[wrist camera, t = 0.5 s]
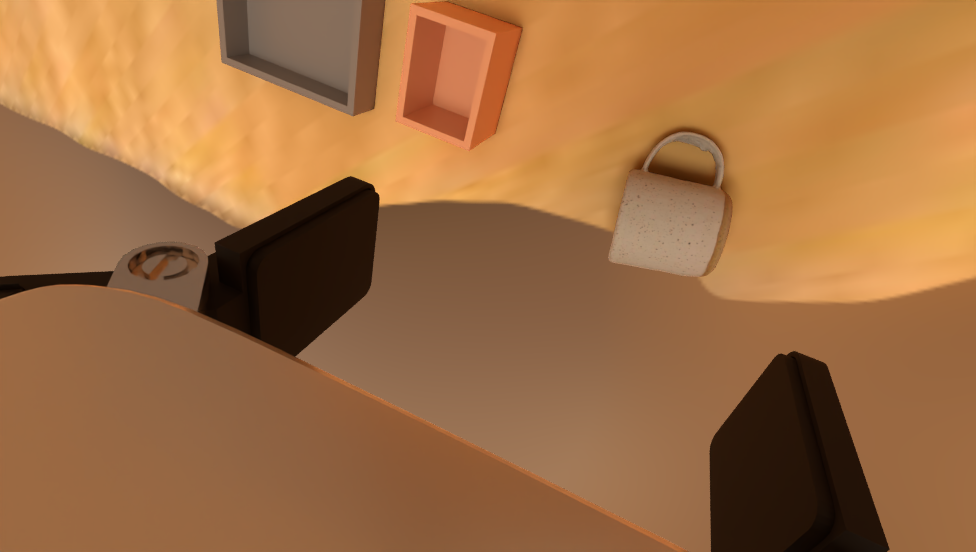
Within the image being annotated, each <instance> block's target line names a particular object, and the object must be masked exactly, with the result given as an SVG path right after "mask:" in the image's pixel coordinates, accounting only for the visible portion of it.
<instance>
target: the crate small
mask: <svg viewBox="0 0 976 552" xmlns="http://www.w3.org/2000/svg"><path fill="white" fill-rule="evenodd" d="M522 29H523V28H522V27H519V26H516V25H513V24H510V23H507V22H504V21H502V20H499V19H496V18H493V17H490V16H487V15H484V14H481V13H479V12H476V11H473V10H470V9H467V8H464V7H461V6H458V5H455V4H453V3H450V2H447V1H446V2H429V3H412V4H411V6H410V14H409V22H408V29H407V37H406V45H405V52H404V60H403V68H402V75H401V83H400V91H399V98H398V106H397V114H396V122H399V123H401V124H404V125H406V126H409V127H411V128H413V129H416V130H418V131H421V132H423V133H426V134H428V135H431V136H433V137H436V138H438V139H441V140H443V141H446V142H448V143H450V144H453V145H455V146H458V147H460V148H463V149H465V150H468V151H470V150H471V149H473V148H474V147H476V146H477V145H479V144H480V143H482V142H483V141H485V140H486V139H487V138H489V137H490V136H492V135H493V134H495V132H496V129H497V125H498V121H499V117H500V113H501V109H502V106H503V102H504V98H505V94H506V90H507V86H508V82H509V79H510V75H511V71H512V67H513V63H514V59H515V56H516V52H517V48H518V44H519V40H520V36H521V32H522Z"/></svg>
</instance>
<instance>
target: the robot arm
mask: <svg viewBox="0 0 976 552" xmlns="http://www.w3.org/2000/svg"><path fill="white" fill-rule="evenodd" d="M378 210H379V194H378V193H376V192H375V188H374V186H373V185H372V184H370V183H367V182H365V181H362V180H359V179H357V178H354V177H351V176H350V177H347V178H345V179H343V180H341V181H339V182H336V183H334V184H332V185H330V186H328V187H326V188H324V189H322V190H320V191H318V192H316V193H314V194H312V195H310V196H308V197H306V198H304V199H302V200H300V201H298V202H296V203H294V204H292V205H290V206H288V207H286V208H284V209H282V210H280V211H278V212H276V213H274V214H272V215H270V216H268V217H266V218H264V219H262V220H259V221H257V222H255V223H253V224H251V225H249V226H247V227H245V228H243V229H241V230H239V231H237V232H235V233H233V234H231V235H229V236H227V237H225V238H223V239H221V240H219V241H217V242H215V250H216V252H215V253H213V254H211V255H209V256H207V255H206V253H205V252H204V251H203V250H202V249H200V248H198V247H197V246H194V245H191V244H187V243H182V242H158V243H152V244H147V245H144V246H141V247H138V248H136V249H133V250H131V251H130V252H128V253H127V254H125V255H124V256H123V257H122V258H121V259H120V261H119V262H118V264H117V266H116V268H115V270H114V271H108V272H87V273H65V274H43V275H22V276H5V277H0V552H689V551H687V550H685V549H683V548H681V547H679V546H677V545H675V544H674V543H672V542H670V541H668V540H666V539H664V538H662V537H660V536H658V535H656V534H654V533H652V532H650V531H648V530H646V529H644V528H642V527H639V526H638V525H636V524H634V523H632V522H630V521H628V520H626V519H624V518H622V517H620V516H618V515H616V514H614V513H612V512H610V511H607V510H606V509H604V508H602V507H600V506H598V505H596V504H594V503H592V502H590V501H588V500H585V499H584V498H582V497H580V496H578V495H576V494H574V493H572V492H570V491H568V490H565V489H564V488H561V487H560V486H558V485H556V484H553V483H552V482H550V481H547V480H545V479H543V478H542V477H540V476H538V475H536V474H533V473H532V472H530V471H527V470H525V469H523V468H521V467H519V466H517V465H515V464H513V463H511V462H509V461H507V460H505V459H503V458H501V457H499V456H497V455H495V454H493V453H491V452H489V451H486V450H485V449H483V448H481V447H479V446H477V445H475V444H473V443H470V442H469V441H467V440H464V439H463V438H461V437H458V436H456V435H454V434H452V433H450V432H448V431H446V430H444V429H442V428H440V427H438V426H436V425H434V424H432V423H430V422H428V421H426V420H424V419H422V418H420V417H418V416H416V415H414V414H412V413H410V412H408V411H406V410H403V409H401V408H399V407H397V406H395V405H393V404H391V403H389V402H387V401H385V400H383V399H381V398H379V397H377V396H375V395H373V394H371V393H368V392H367V391H364V390H362V389H360V388H358V387H356V386H354V385H352V384H350V383H348V382H346V381H344V380H342V379H340V378H338V377H335V376H333V375H331V374H329V373H327V372H325V371H323V370H321V369H319V368H317V367H315V366H313V365H311V364H309V363H307V362H305V361H302V360H301V359H298V358H296V357H295V356H296V355H297V354H299V353H300V352H301V351H302V350H303V349H304V348H306V347H307V346H308V345H309V344H310V343H311V342H313V341H314V340H315V339H316V338H317V337H318V336H319V335H320V334H322V333H323V332H324V331H325V330H326V329H327V328H329V327H330V326H331V325H332V324H333V323H334V322H335V321H337V320H338V319H339V318H340V317H341V316H342V315H344V314H345V313H346V312H347V311H348V310H349V309H350V308H352V307H353V306H354V305H355V304H356V303H357V302H358V301H360V300H361V299H362V298H363V297H364V296H365V295H366V294H367V292H368V290H369V288H370V286H371V280H372V271H373V261H374V260H373V259H374V250H375V241H376V231H377V221H378ZM710 511H711V552H887V551H888V550H889V546H888V543H887V541H886V537H885V534H884V532H883V529H882V526H881V523H880V520H879V517H878V514H877V511H876V508H875V505H874V502H873V499H872V496H871V493H870V490H869V488H868V485H867V482H866V479H865V476H864V473H863V470H862V467H861V464H860V461H859V458H858V455H857V452H856V449H855V446H854V443H853V440H852V437H851V434H850V432H849V429H848V426H847V423H846V420H845V417H844V414H843V411H842V408H841V405H840V402H839V399H838V396H837V393H836V390H835V387H834V384H833V382H832V379H831V376H830V373H829V370H828V367H827V365H826V364H825V363H823V362H821V361H819V360H816V359H813V358H811V357H808V356H806V355H803V354H801V353H798V352H795V351H793V352H790V353H789V354H788V355H784V354H778V355H777V356H776V357H775V358H774V359H773V360H772V362H771V363H770V364H769V365H768V367H767V368H766V369H765V371H764V372H763V374H762V375H761V376H760V377H759V378H758V380H757V381H756V382H755V384H754V385H753V386H752V387H751V389H750V390H749V391H748V393H747V394H746V395H745V397H744V398H743V399H742V401H741V402H740V403H739V404H738V406H737V407H736V408H735V409H734V411H733V412H732V413H731V415H730V416H729V417H728V418H727V420H726V421H725V422H724V424H723V425H722V426H721V428H720V429H719V430H718V432H717V433H716V434H715V436H714V438H713V440H712V442H711V446H710Z"/></svg>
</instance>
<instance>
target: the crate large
mask: <svg viewBox="0 0 976 552" xmlns="http://www.w3.org/2000/svg"><path fill="white" fill-rule="evenodd" d="M384 7H385V0H217V11H218V23H219V36H220V48H221V60H222V63H224V64H227V65H229V66H232V67H234V68H237V69H239V70H242V71H244V72H246V73H249V74H251V75H254V76H256V77H259V78H261V79H263V80H266V81H268V82H271V83H273V84H276V85H278V86H281V87H283V88H285V89H288V90H290V91H293V92H295V93H298V94H300V95H302V96H305V97H307V98H310V99H312V100H315V101H317V102H320V103H322V104H324V105H327V106H329V107H332V108H334V109H337V110H339V111H341V112H344V113H346V114H349V115H351V116H355V115H358V114H361V113H364V112H366V111H369V110H372V109H374V105H375V95H376V85H377V75H378V65H379V56H380V46H381V36H382V26H383V16H384Z"/></svg>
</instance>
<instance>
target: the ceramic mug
mask: <svg viewBox="0 0 976 552" xmlns="http://www.w3.org/2000/svg"><path fill="white" fill-rule="evenodd" d="M672 141H680V142H684V143H688V144H692V145H694V146H697V147H699V148H700V149H701V150H702V151H709V152H711V153H712V155H713V157H714V160H715V162H716V175H715V181H714V184H713V186H708V185H703V184H699V183H694V182H691V181H684V180H679V179H675V178H672V177H668V176H664V175H660V174H655V173H651V172H649V171H648V167H649V164H650V163H651V161H652V159H653V157H654V156H655V154H656V153H657V152H658V151H659V150H660V149H661V148H662V147H663V146H664V145H666V144H668V143H669V142H672ZM723 176H724V160H723V156H722V153H721V151H720V150H719V148H718V146H717V145H716V144H715V143H714V142H713V141H712V140H711V139H709V138H707V137H705V136H703V135H700V134H697V133H693V132H678V133H675V134H671V135H669V136H668V137H666V138H664V139H663V140H661V141H660V142H659V143H658V144H657V145H656V146H655V147H654V148H653V149H652V151H651V152H650V154H649V155H648V157H647V159H646V161H645V163H644V165H643V168H642V169H641V170H638V169H632V170H631V171H630V172H629V175H628V178H627V182H626V186H625V189H624V194H623V198H622V202H621V206H620V210H619V214H618V218H617V222H616V227H615V231H614V236H613V240H612V244H611V248H610V252H609V258H608V259H609V261H611V262H613V263H619V264H625V265H630V266H635V267H641V268H646V269H651V270H658V271H663V272H667V273H673V274H677V275H682V276H699V277H701V276H706V275H708V274H709V273H711V272H712V271H713V270H714V268H715V267H716V265H717V263H718V261H719V259H720V257H721V254H722V252H723V249H724V246H725V242H726V239H727V235H728V232H729V227H730V223H731V217H732V200H731V198H730V196H729V195H728V194H727V193H726V192H724V191H722V190H721V187H720V186H721V183H722V180H723Z"/></svg>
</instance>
